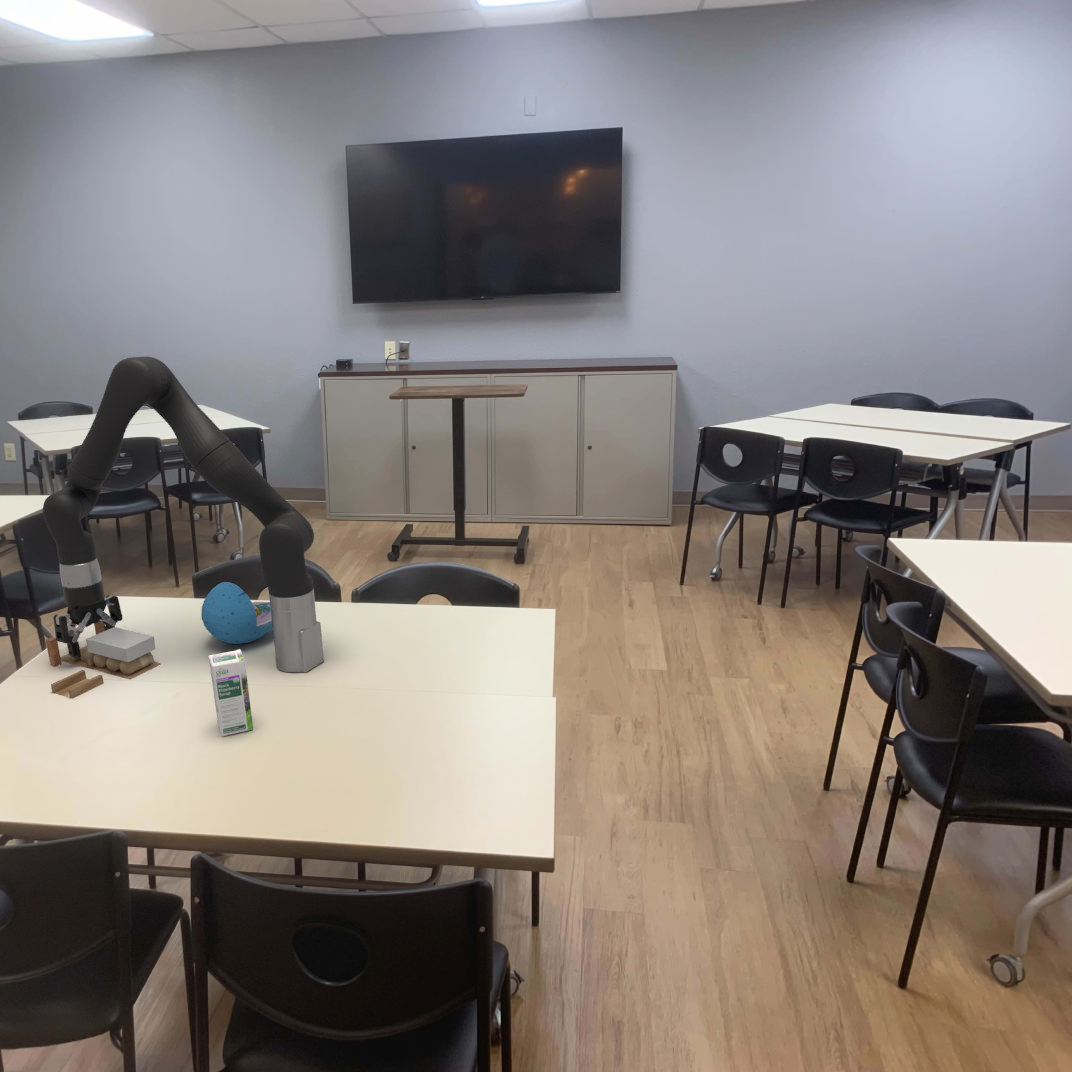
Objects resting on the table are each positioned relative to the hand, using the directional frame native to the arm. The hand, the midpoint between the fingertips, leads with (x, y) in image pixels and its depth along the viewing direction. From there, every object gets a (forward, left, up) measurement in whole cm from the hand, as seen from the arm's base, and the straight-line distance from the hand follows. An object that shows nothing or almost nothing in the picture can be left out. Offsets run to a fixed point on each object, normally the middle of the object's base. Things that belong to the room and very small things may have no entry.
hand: (94, 649), depth 177 cm
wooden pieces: (-4, +4, -3) cm, 6 cm away
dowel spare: (0, 0, -2) cm, 2 cm away
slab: (-9, 0, +2) cm, 9 cm away
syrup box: (-48, +8, -3) cm, 49 cm away
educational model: (-21, -23, -3) cm, 31 cm away
